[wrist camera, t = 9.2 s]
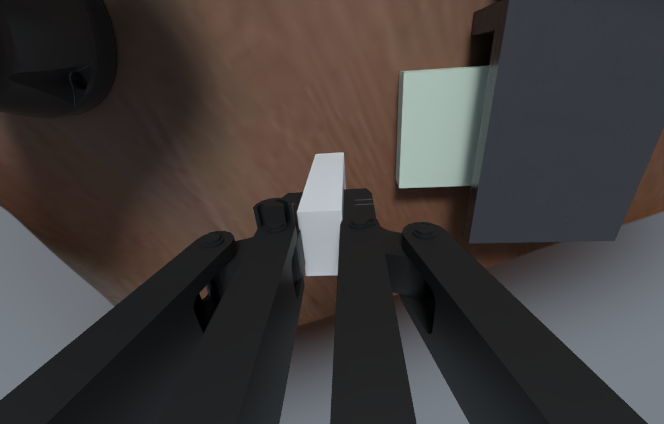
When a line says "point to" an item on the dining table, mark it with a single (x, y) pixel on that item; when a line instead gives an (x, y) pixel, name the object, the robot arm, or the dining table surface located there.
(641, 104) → the riser
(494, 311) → the robot arm
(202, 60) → the dining table surface
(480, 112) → the mint green panel
